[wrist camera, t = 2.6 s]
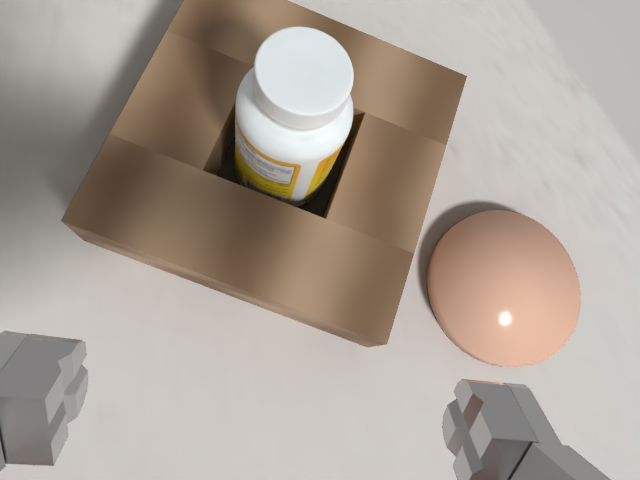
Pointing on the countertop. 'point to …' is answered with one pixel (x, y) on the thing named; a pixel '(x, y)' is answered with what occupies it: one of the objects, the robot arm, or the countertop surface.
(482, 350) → the peach round disc
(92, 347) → the countertop surface
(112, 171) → the frame
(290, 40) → the supplement bottle
